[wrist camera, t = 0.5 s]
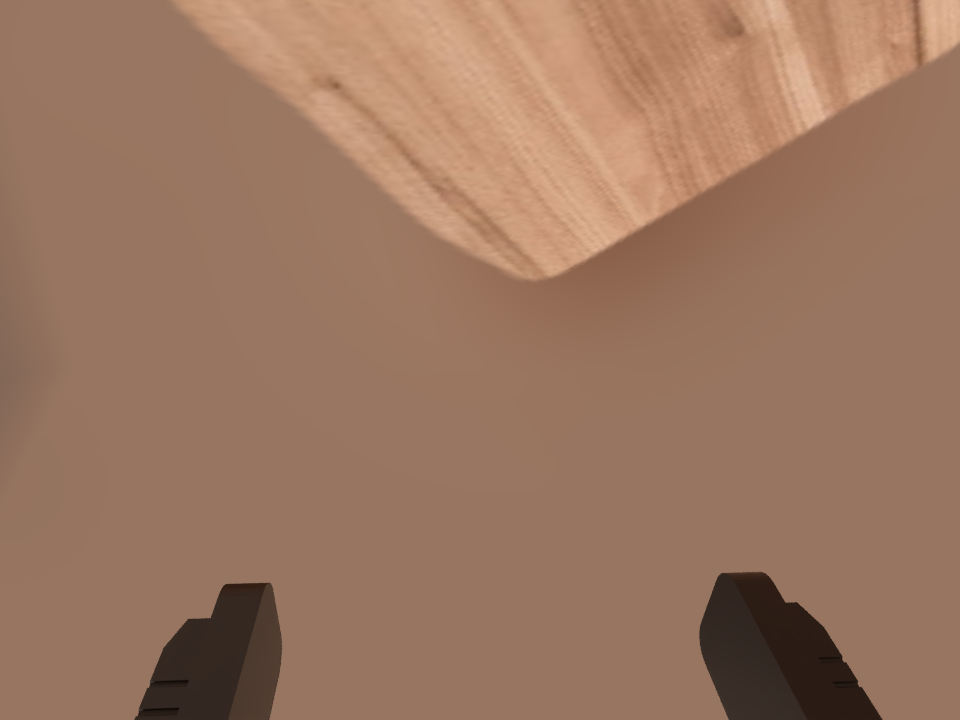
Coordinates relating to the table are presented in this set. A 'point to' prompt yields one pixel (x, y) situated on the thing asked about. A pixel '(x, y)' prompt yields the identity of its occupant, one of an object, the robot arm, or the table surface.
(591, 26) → the table surface
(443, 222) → the table surface
